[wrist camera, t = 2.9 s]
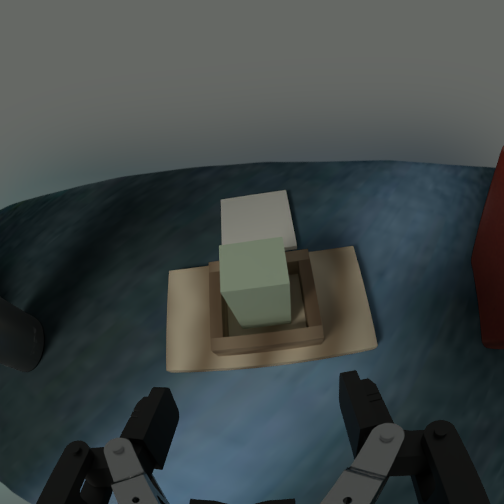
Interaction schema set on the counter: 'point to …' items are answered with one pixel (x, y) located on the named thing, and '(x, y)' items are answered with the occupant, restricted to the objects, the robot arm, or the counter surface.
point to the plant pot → (491, 262)
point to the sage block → (256, 282)
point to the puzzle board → (278, 336)
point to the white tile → (257, 219)
